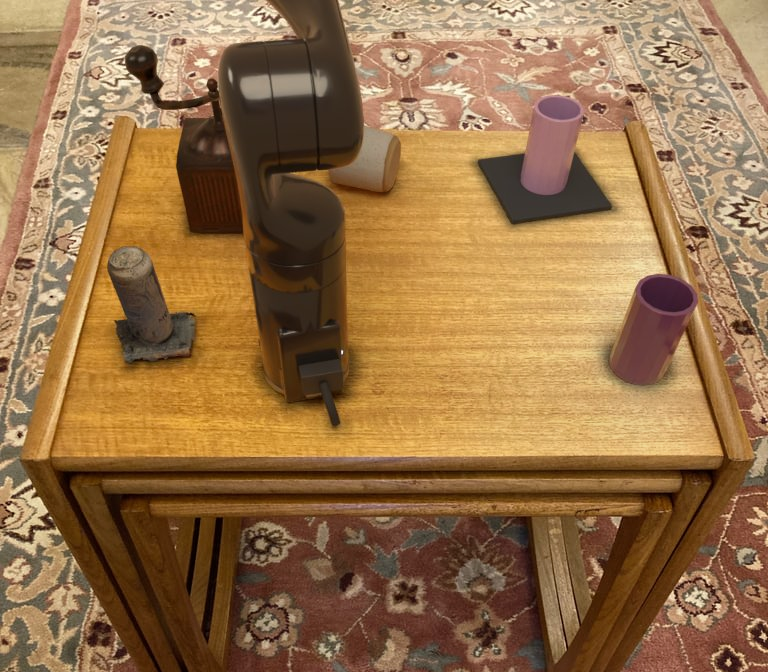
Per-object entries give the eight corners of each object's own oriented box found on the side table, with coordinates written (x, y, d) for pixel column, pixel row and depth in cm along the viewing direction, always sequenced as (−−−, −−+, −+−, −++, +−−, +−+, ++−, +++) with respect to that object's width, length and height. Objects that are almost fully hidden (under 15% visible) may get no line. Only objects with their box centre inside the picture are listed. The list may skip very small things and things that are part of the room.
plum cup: (674, 379, 84) (709, 309, 76) (623, 389, 83) (652, 319, 75) (650, 341, 87) (680, 269, 79) (600, 350, 86) (625, 278, 78)
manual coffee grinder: (275, 182, 102) (260, 39, 87) (271, 234, 96) (255, 89, 81) (158, 182, 102) (123, 38, 87) (147, 234, 96) (107, 89, 81)
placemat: (611, 209, 101) (612, 205, 100) (512, 224, 99) (512, 220, 98) (570, 150, 108) (571, 146, 108) (477, 163, 106) (478, 159, 105)
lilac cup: (574, 179, 103) (593, 106, 95) (551, 201, 101) (569, 127, 92) (534, 162, 105) (549, 89, 97) (511, 183, 102) (525, 110, 94)
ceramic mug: (387, 205, 100) (389, 149, 94) (328, 194, 101) (326, 137, 95) (407, 162, 106) (410, 106, 100) (351, 152, 107) (350, 96, 101)
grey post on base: (125, 373, 82) (93, 284, 72) (114, 326, 86) (82, 236, 76) (208, 355, 84) (187, 265, 74) (194, 309, 88) (172, 219, 78)
